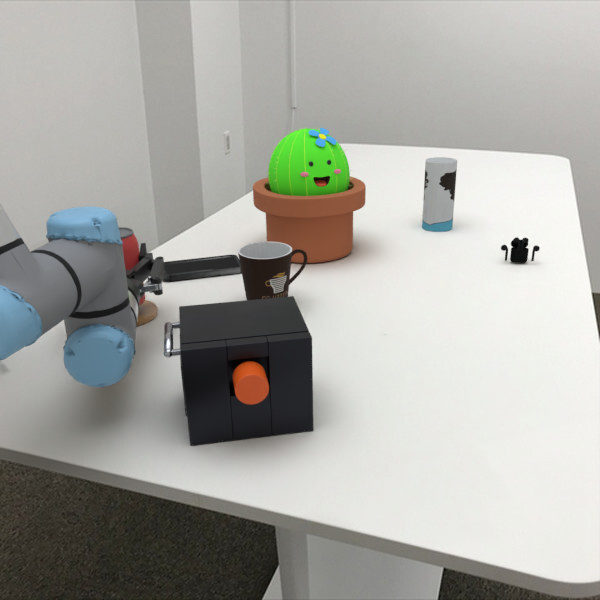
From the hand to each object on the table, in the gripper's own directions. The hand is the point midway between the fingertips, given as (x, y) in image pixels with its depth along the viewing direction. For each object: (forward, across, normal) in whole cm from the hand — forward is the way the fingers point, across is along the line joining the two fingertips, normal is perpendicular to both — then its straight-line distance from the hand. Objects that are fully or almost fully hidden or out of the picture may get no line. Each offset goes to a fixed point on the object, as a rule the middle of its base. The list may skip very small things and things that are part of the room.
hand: (121, 252), depth 106 cm
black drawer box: (-37, +16, -9) cm, 42 cm away
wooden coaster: (-5, 0, -9) cm, 10 cm away
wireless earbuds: (+3, +72, -10) cm, 73 cm away
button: (-44, +16, -3) cm, 47 cm away
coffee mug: (-7, +24, -9) cm, 27 cm away
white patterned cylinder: (+29, +66, -10) cm, 73 cm away
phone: (+13, +13, -9) cm, 20 cm away
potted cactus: (+20, +35, -9) cm, 42 cm away
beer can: (-5, 0, -7) cm, 9 cm away
